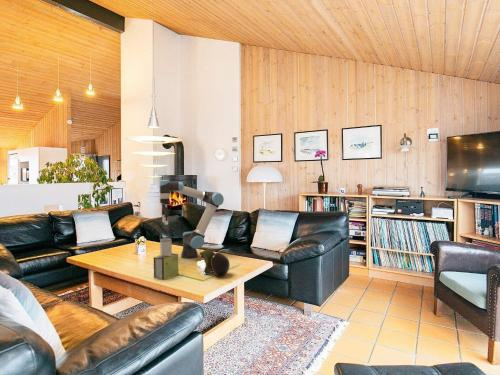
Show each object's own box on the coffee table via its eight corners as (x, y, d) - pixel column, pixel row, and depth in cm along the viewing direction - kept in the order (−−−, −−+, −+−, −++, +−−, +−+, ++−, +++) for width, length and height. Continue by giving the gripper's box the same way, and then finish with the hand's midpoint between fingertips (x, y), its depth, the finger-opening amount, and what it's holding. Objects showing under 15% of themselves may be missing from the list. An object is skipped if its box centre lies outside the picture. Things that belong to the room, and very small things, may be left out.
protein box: (178, 274, 235) (178, 254, 234) (163, 280, 222) (163, 258, 221) (168, 272, 240) (168, 252, 240) (153, 277, 227) (153, 256, 226)
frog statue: (217, 285, 224) (192, 270, 236) (230, 278, 237) (205, 264, 249) (222, 262, 220) (196, 248, 232) (235, 256, 233) (209, 243, 245)
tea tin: (170, 253, 235) (169, 238, 235) (172, 256, 228) (171, 239, 228) (160, 254, 232) (159, 238, 232) (161, 257, 225) (161, 240, 225)
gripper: (158, 197, 269) (158, 221, 270) (162, 199, 246) (162, 226, 247) (167, 197, 272) (167, 221, 273) (171, 199, 249) (172, 225, 250)
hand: (165, 223), depth 260 cm, fingers open, 13 cm apart
